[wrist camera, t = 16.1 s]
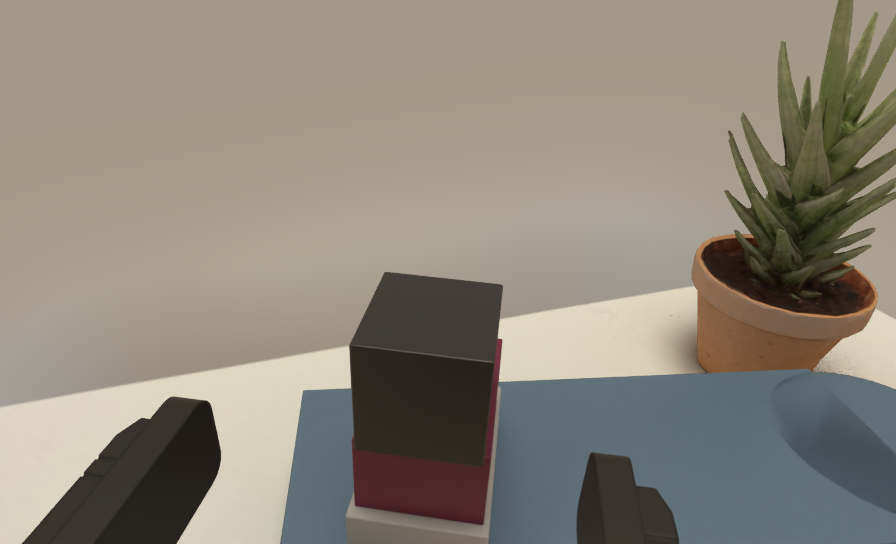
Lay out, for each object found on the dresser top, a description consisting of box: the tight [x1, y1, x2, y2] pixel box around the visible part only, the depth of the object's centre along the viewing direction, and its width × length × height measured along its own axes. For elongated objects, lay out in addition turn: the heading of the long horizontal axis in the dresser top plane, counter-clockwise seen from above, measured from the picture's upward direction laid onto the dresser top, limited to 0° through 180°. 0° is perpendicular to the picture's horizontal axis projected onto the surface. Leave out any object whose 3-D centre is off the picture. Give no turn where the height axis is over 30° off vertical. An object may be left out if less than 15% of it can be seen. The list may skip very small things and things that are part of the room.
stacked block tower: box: [346, 272, 503, 544], centre depth 21 cm, size 9×5×9 cm, turn 172°
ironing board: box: [280, 369, 896, 544], centre depth 25 cm, size 30×10×5 cm, turn 97°
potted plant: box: [692, 0, 896, 373], centre depth 31 cm, size 10×10×25 cm
